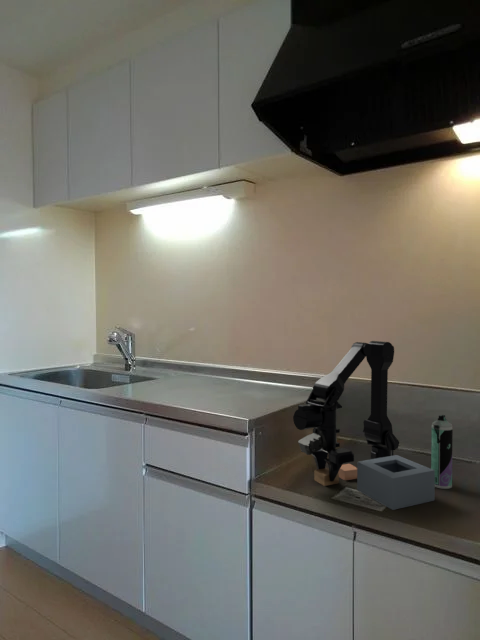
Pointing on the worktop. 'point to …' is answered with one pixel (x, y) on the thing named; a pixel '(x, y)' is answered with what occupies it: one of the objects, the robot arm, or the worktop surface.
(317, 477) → the brown square block
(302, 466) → the worktop surface
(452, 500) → the worktop surface
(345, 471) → the salmon square block
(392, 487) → the box
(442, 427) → the spray can
